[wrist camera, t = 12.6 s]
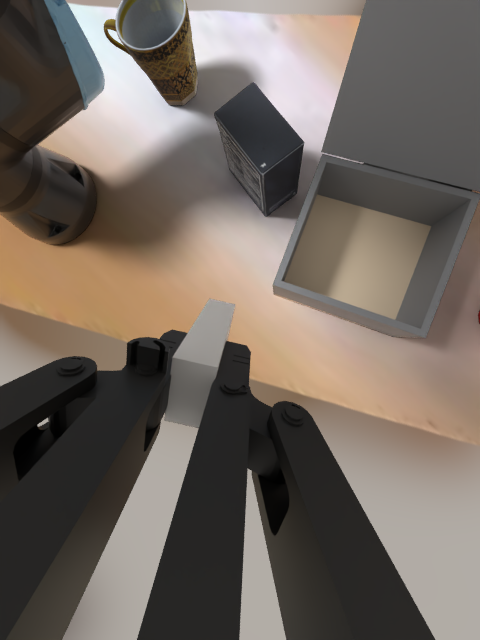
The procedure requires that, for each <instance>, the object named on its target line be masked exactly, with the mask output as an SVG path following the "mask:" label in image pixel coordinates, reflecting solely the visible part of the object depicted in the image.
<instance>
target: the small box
mask: <svg viewBox="0 0 480 640" xmlns="http://www.w3.org/2000/svg"><path fill="white" fill-rule="evenodd" d="M214 116H215V119H216V121H217V124H218V127H219V131H220V134H221V138H222V142H223V146H224V149H225V153H226V157H227V161H228V165H229V169H230V171H231V172H232V173H233V175H234V176H235V177H236V179H237V180H238V181H239V183H240V184H241V185H242V187H243V188H244V189H245V190H246V192H247V193H248V194H249V196H250V197H251V199H252V200H253V201H254V202H255V204H256V205H257V206H258V208H259V209H260V210H261V211H262V213H263V214H264V216H268V215H270V214H271V213H272V212H273V211H275V209H277V208H278V207H279V206H281V205H282V204H284V203H285V202H286V201H288V200H289V199H291V198H292V197H293V196H294V195H295V194H297V188H298V181H299V174H300V167H301V160H302V153H303V146H304V141H303V140H302V139H301V138H300V137H299V135H298V134H297V133H296V132H295V131H294V130H293V128H292V127H291V126H290V125H289V124H288V122H287V121H286V120H285V119H284V118H283V117H282V115H281V114H280V113H279V112H278V111H277V109H276V108H275V107H274V106H273V105H272V103H271V102H270V101H269V100H268V99H267V97H266V96H265V95H264V94H263V93H262V91H261V90H260V89H259V88H258V86H257V85H256V84H255V83H254V82H253V83H251V84H250V85H249V86H247V87H246V88H245V89H243V90H242V91H241V92H240V93H238V94H237V95H236V96H235V97H233V98H232V99H231V100H230V101H228V102H227V103H226V104H225V105H223V106H222V107H221V108H220V109H219V110H217V111H216V112H215V113H214Z"/></svg>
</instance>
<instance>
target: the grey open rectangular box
mask: <svg viewBox="0 0 480 640" xmlns="http://www.w3.org/2000/svg"><path fill="white" fill-rule="evenodd" d="M479 199H480V194H479V193H475V192H471V191H467V190H463V189H459V188H455V187H451V186H447V185H443V184H439V183H435V182H431V181H427V180H423V179H419V178H415V177H411V176H407V175H403V174H400V173H396V172H392V171H388V170H384V169H380V168H376V167H372V166H368V165H364V164H360V163H356V162H352V161H348V160H344V159H340V158H336V157H332V156H328V155H324V154H322V157H321V159H320V162H319V164H318V167H317V170H316V172H315V175H314V178H313V180H312V183H311V185H310V188H309V191H308V193H307V196H306V199H305V201H304V204H303V207H302V209H301V212H300V214H299V217H298V220H297V222H296V225H295V228H294V230H293V233H292V235H291V238H290V241H289V243H288V246H287V249H286V251H285V254H284V257H283V259H282V262H281V264H280V267H279V270H278V272H277V275H276V278H275V280H274V283H273V292H274V295H277V296H280V297H282V298H285V299H288V300H291V301H294V302H296V303H299V304H302V305H305V306H308V307H311V308H313V309H316V310H319V311H322V312H325V313H327V314H330V315H333V316H336V317H339V318H341V319H344V320H347V321H350V322H353V323H356V324H358V325H361V326H364V327H367V328H370V329H372V330H375V331H378V332H381V333H384V334H387V335H389V336H392V337H411V338H426V336H427V334H428V331H429V328H430V326H431V323H432V321H433V318H434V316H435V313H436V310H437V308H438V305H439V303H440V300H441V298H442V295H443V292H444V290H445V287H446V285H447V282H448V279H449V277H450V274H451V272H452V269H453V267H454V264H455V261H456V259H457V256H458V254H459V251H460V248H461V246H462V243H463V241H464V238H465V236H466V233H467V230H468V228H469V225H470V223H471V220H472V218H473V215H474V212H475V210H476V207H477V205H478V202H479Z"/></svg>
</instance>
